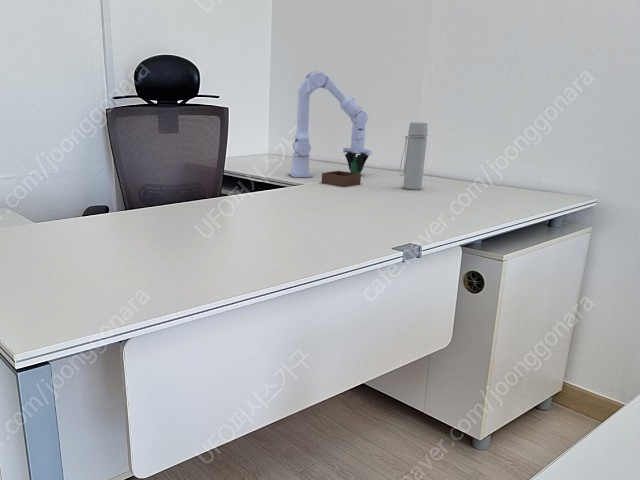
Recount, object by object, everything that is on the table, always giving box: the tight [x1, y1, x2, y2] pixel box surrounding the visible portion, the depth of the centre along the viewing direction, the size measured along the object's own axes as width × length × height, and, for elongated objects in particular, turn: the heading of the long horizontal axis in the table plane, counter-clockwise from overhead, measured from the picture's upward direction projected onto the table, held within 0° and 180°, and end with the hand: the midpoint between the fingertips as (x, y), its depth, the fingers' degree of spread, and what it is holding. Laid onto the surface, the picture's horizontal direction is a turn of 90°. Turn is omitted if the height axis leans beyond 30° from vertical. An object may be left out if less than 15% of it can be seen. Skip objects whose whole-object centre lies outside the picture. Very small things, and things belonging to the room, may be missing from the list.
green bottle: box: [349, 156, 362, 175], centre depth 265 cm, size 5×5×8 cm
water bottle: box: [399, 121, 429, 191], centre depth 230 cm, size 9×8×25 cm
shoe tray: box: [321, 170, 362, 188], centre depth 245 cm, size 12×10×4 cm
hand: (355, 170), depth 266 cm, fingers closed on green bottle, 4 cm apart
